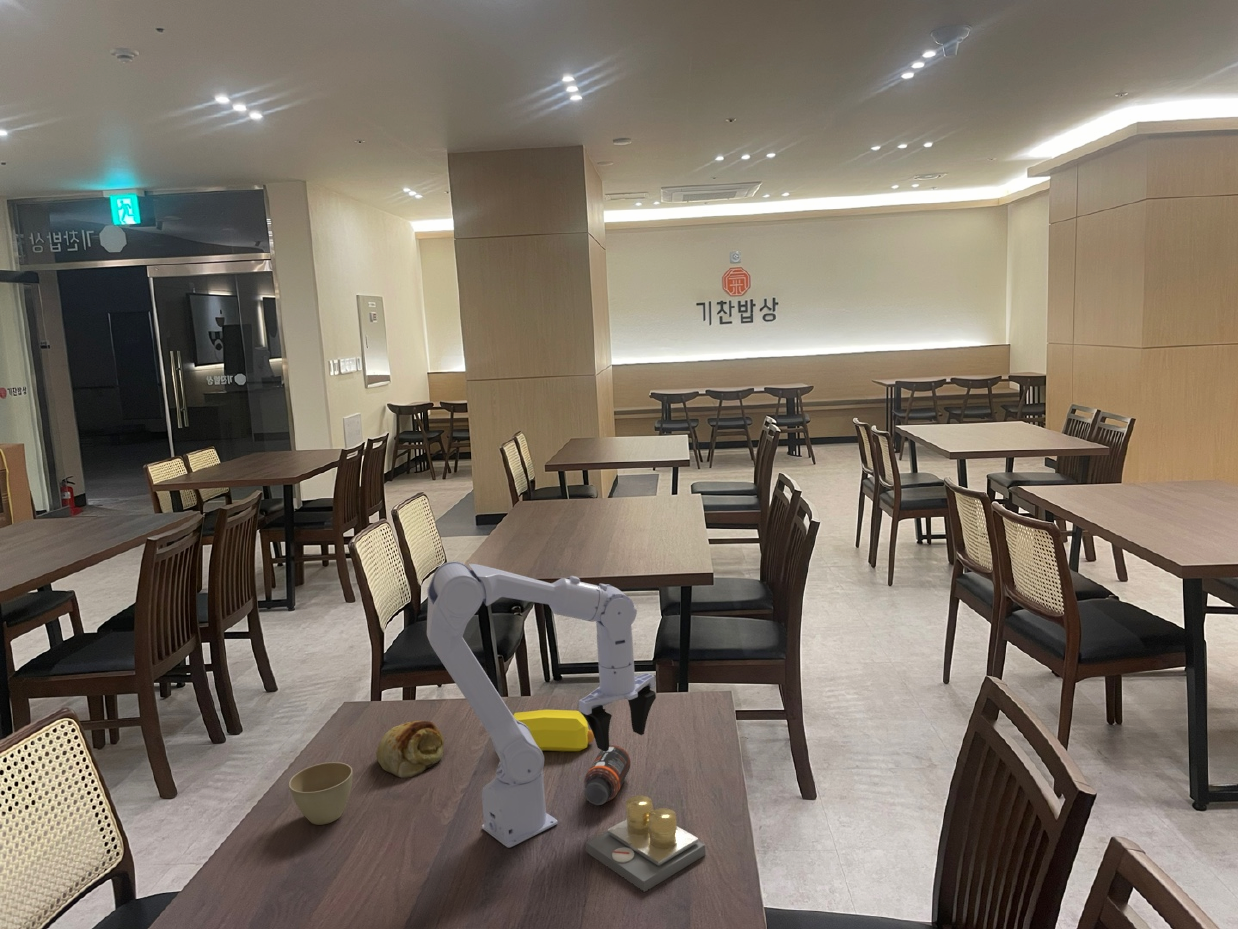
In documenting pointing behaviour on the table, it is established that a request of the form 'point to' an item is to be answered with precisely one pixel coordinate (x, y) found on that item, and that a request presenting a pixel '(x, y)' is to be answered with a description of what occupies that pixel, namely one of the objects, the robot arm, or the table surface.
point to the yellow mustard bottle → (557, 729)
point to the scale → (639, 861)
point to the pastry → (410, 748)
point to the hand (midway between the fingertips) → (621, 740)
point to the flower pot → (322, 791)
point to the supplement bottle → (606, 775)
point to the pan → (644, 846)
